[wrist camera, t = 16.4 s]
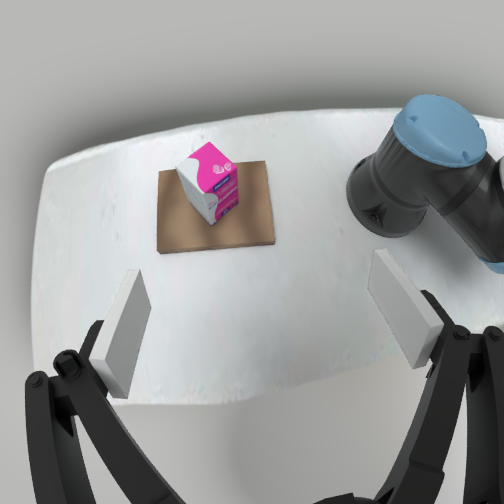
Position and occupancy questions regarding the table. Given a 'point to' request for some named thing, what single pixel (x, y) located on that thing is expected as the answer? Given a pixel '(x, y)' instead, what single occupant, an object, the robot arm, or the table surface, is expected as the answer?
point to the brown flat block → (227, 227)
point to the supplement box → (209, 182)
